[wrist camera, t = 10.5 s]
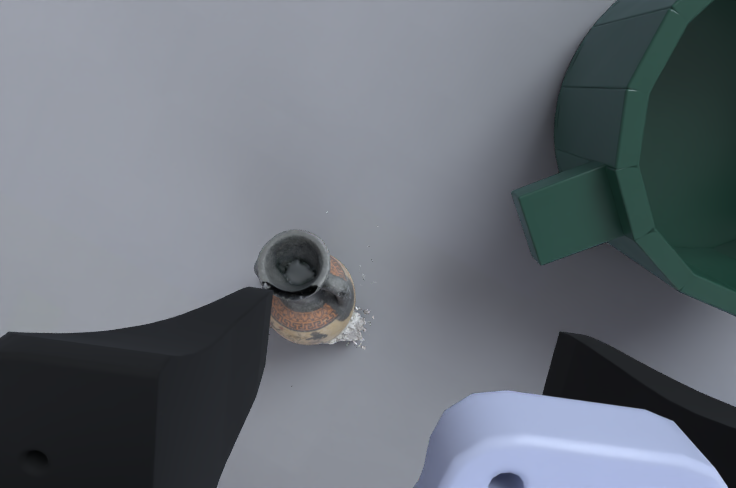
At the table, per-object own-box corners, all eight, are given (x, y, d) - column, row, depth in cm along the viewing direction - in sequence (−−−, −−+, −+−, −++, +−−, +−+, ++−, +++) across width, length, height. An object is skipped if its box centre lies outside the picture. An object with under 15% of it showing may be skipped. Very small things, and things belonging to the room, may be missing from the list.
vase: (259, 189, 22) (219, 227, 16) (392, 213, 22) (399, 259, 17) (243, 312, 24) (202, 386, 18) (368, 333, 24) (367, 413, 18)
